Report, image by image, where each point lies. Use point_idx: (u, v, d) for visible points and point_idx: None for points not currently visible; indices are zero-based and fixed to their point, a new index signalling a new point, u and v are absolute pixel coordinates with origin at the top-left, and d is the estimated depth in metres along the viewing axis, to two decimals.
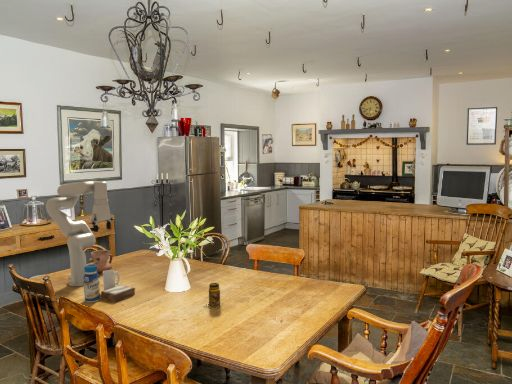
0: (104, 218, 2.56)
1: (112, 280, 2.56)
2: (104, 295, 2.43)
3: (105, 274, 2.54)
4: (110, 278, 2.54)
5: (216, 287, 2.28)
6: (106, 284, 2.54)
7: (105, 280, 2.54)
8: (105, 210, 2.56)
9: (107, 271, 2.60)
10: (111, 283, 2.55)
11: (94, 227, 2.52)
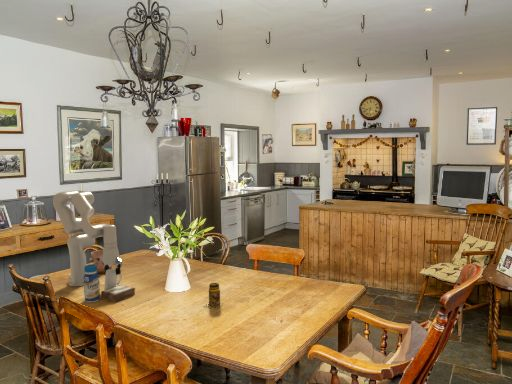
0: None
1: (114, 281, 2.55)
2: (104, 295, 2.43)
3: (108, 274, 2.53)
4: (112, 279, 2.54)
5: (216, 287, 2.28)
6: (107, 284, 2.54)
7: (107, 280, 2.53)
8: None
9: (110, 270, 2.58)
10: (112, 283, 2.55)
11: (119, 269, 2.54)
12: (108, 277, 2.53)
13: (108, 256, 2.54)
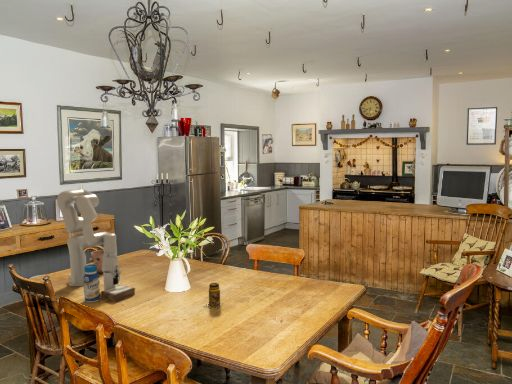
0: None
1: (112, 280, 2.55)
2: (104, 295, 2.43)
3: (106, 274, 2.54)
4: (110, 278, 2.54)
5: (216, 287, 2.28)
6: (106, 284, 2.54)
7: (105, 280, 2.54)
8: None
9: None
10: (111, 283, 2.55)
11: (116, 279, 2.56)
12: (106, 277, 2.54)
13: (107, 265, 2.55)
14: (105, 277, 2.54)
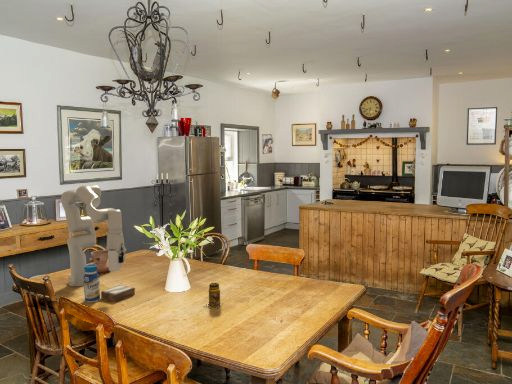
0: None
1: (118, 258, 2.43)
2: (104, 295, 2.43)
3: (110, 252, 2.41)
4: (116, 256, 2.42)
5: (216, 287, 2.28)
6: (111, 262, 2.42)
7: (110, 258, 2.41)
8: None
9: None
10: (116, 261, 2.42)
11: (122, 258, 2.43)
12: (111, 255, 2.41)
13: (112, 242, 2.42)
14: (110, 255, 2.41)
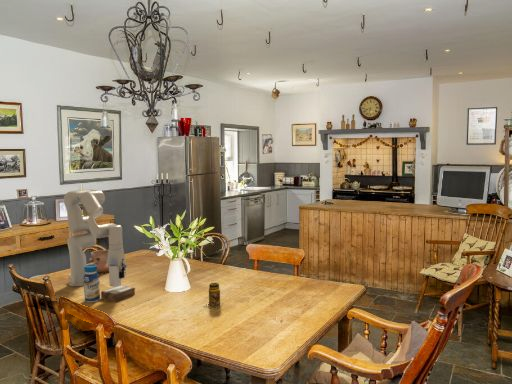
0: None
1: (118, 274, 2.43)
2: (104, 295, 2.43)
3: (111, 267, 2.42)
4: (116, 272, 2.42)
5: (216, 287, 2.28)
6: (112, 278, 2.42)
7: (111, 274, 2.42)
8: None
9: None
10: (117, 277, 2.43)
11: (122, 273, 2.44)
12: (112, 271, 2.42)
13: (113, 258, 2.43)
14: (111, 271, 2.42)
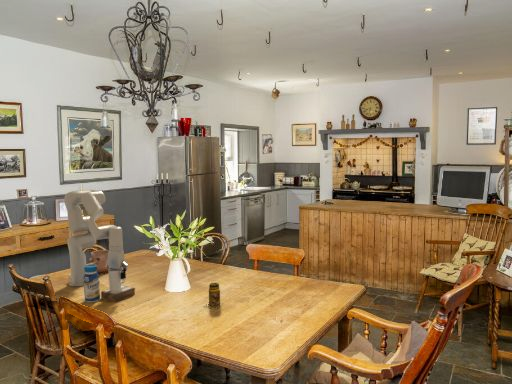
0: None
1: (118, 279, 2.44)
2: (104, 295, 2.43)
3: (111, 272, 2.42)
4: (116, 276, 2.43)
5: (216, 287, 2.28)
6: (112, 283, 2.43)
7: (111, 279, 2.43)
8: None
9: (113, 269, 2.48)
10: (117, 282, 2.43)
11: (124, 274, 2.44)
12: (111, 275, 2.42)
13: (113, 259, 2.43)
14: (110, 276, 2.42)
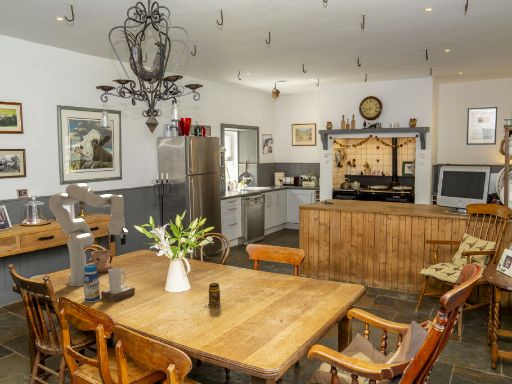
0: None
1: (118, 279, 2.44)
2: (104, 295, 2.43)
3: (111, 272, 2.42)
4: (116, 277, 2.43)
5: (216, 287, 2.28)
6: (112, 283, 2.43)
7: (111, 279, 2.43)
8: None
9: (113, 269, 2.48)
10: (117, 282, 2.43)
11: (124, 240, 2.56)
12: (111, 276, 2.42)
13: (114, 226, 2.55)
14: (110, 276, 2.42)
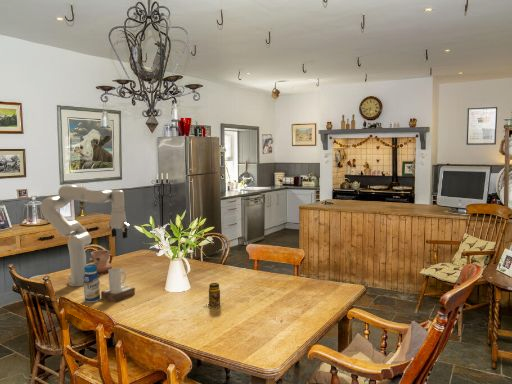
0: None
1: (118, 279, 2.44)
2: (104, 295, 2.43)
3: (111, 272, 2.42)
4: (116, 277, 2.43)
5: (216, 287, 2.28)
6: (112, 283, 2.43)
7: (111, 279, 2.43)
8: None
9: (113, 269, 2.48)
10: (117, 282, 2.43)
11: (126, 233, 2.65)
12: (111, 276, 2.42)
13: (116, 220, 2.64)
14: (110, 276, 2.42)
